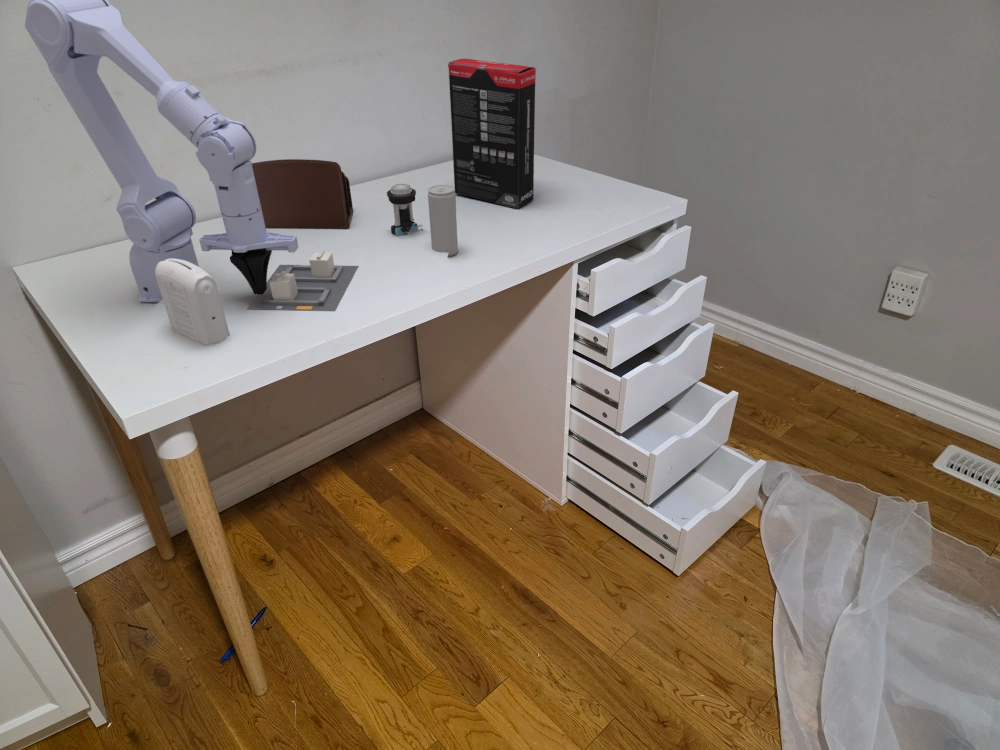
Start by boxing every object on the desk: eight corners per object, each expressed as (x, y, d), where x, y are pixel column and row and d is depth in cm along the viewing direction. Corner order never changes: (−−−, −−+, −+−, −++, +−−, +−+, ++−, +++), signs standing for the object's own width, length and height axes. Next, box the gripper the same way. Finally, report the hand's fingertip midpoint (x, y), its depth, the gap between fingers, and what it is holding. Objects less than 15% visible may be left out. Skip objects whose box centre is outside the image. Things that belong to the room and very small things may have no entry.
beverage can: (427, 256, 126) (422, 192, 119) (438, 245, 130) (434, 183, 123) (452, 259, 124) (448, 195, 118) (462, 249, 128) (459, 185, 121)
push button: (415, 228, 137) (411, 178, 131) (430, 236, 133) (427, 185, 128) (386, 237, 133) (380, 186, 128) (401, 245, 130) (396, 194, 124)
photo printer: (236, 342, 102) (216, 265, 95) (211, 355, 99) (188, 277, 92) (194, 322, 107) (172, 248, 100) (169, 334, 104) (144, 259, 97)
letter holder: (349, 230, 137) (339, 158, 129) (247, 235, 136) (230, 163, 128) (353, 211, 145) (344, 143, 137) (257, 216, 144) (242, 147, 136)
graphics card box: (536, 200, 148) (538, 63, 133) (519, 211, 143) (519, 70, 128) (470, 187, 156) (465, 55, 140) (452, 196, 151) (445, 61, 136)
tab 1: (273, 301, 110) (268, 279, 107) (279, 292, 112) (275, 270, 110) (292, 302, 109) (287, 279, 107) (298, 293, 112) (293, 270, 110)
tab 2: (312, 279, 116) (308, 257, 114) (317, 271, 118) (314, 249, 116) (330, 279, 116) (326, 257, 114) (335, 271, 118) (331, 250, 116)
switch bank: (248, 316, 108) (245, 306, 107) (281, 270, 122) (279, 261, 121) (336, 317, 108) (334, 307, 107) (359, 272, 121) (358, 262, 120)
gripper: (182, 219, 100) (206, 302, 108) (280, 220, 99) (297, 304, 107) (202, 202, 106) (223, 282, 113) (295, 202, 105) (310, 283, 112)
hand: (260, 291), depth 110 cm, fingers closed
